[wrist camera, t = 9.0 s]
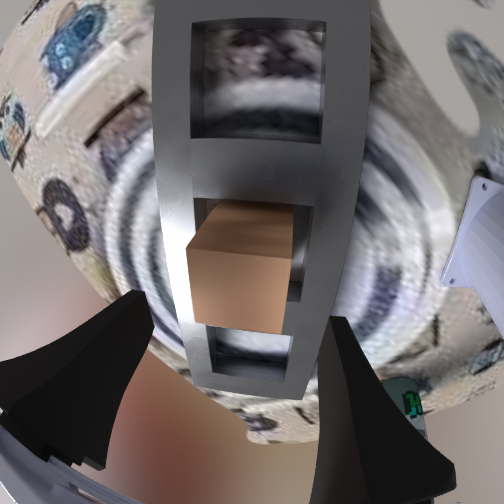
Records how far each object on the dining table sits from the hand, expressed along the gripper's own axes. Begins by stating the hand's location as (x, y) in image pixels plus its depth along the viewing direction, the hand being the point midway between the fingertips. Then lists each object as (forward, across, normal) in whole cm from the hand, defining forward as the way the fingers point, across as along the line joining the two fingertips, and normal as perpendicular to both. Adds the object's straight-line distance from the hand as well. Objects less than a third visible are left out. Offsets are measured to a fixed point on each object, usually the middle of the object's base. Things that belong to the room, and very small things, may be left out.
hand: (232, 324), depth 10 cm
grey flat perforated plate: (+7, 0, 0) cm, 7 cm away
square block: (+7, 0, 0) cm, 7 cm away
